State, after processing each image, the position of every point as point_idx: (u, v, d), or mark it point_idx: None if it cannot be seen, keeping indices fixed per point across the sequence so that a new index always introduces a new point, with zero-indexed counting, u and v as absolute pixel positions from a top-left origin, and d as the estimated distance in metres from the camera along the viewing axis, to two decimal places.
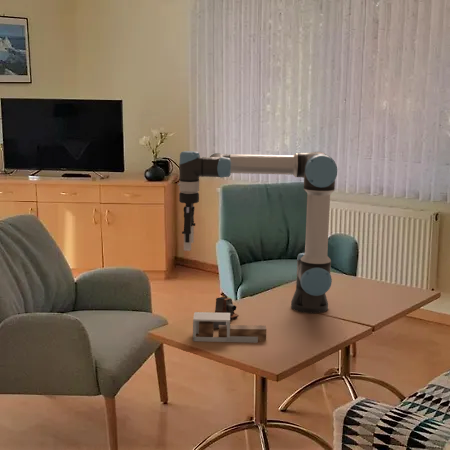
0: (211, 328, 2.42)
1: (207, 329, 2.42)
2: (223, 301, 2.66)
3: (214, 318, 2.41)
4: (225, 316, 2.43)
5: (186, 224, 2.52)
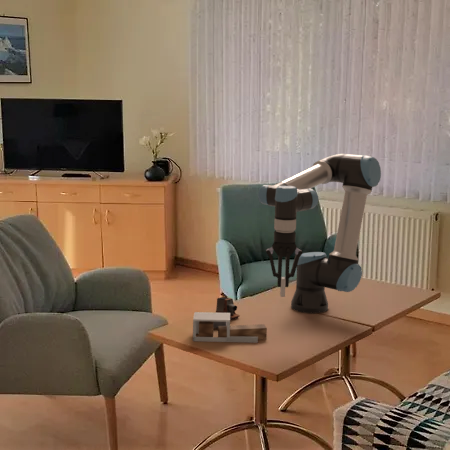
0: (211, 328, 2.42)
1: (207, 329, 2.42)
2: (224, 301, 2.66)
3: (214, 318, 2.41)
4: (225, 316, 2.43)
5: None
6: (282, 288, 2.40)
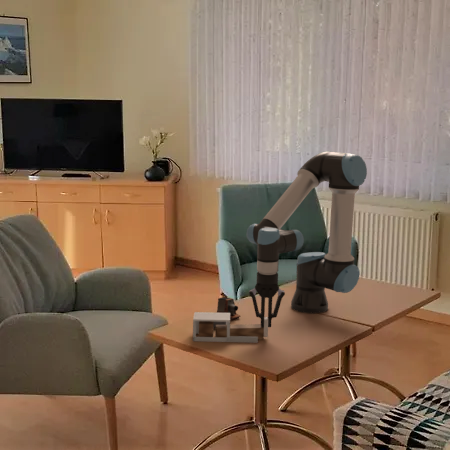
0: (211, 328, 2.42)
1: (207, 329, 2.42)
2: (225, 301, 2.66)
3: (214, 318, 2.41)
4: (225, 316, 2.43)
5: None
6: (265, 328, 2.42)
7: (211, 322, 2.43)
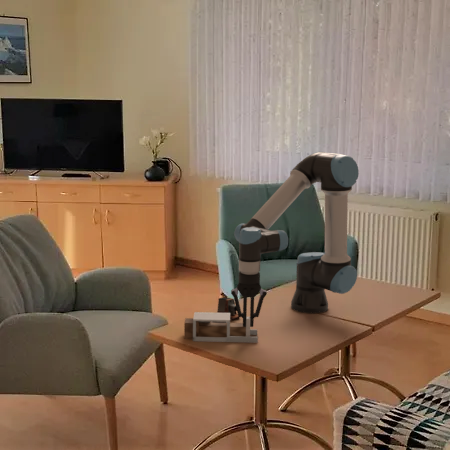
0: (197, 327, 2.42)
1: None
2: (225, 301, 2.66)
3: (214, 318, 2.41)
4: (225, 316, 2.43)
5: None
6: (247, 328, 2.43)
7: (196, 321, 2.44)
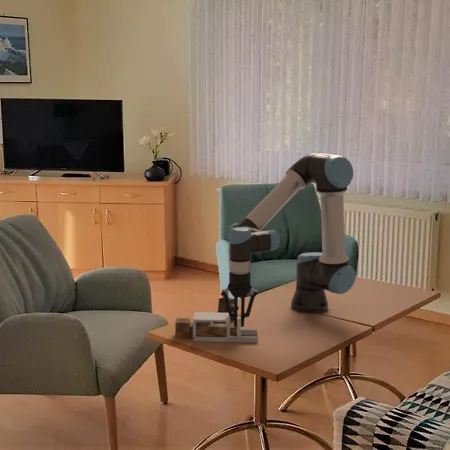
0: (187, 327, 2.43)
1: (184, 328, 2.43)
2: None
3: (214, 318, 2.41)
4: (225, 316, 2.43)
5: None
6: (238, 328, 2.43)
7: (188, 321, 2.44)
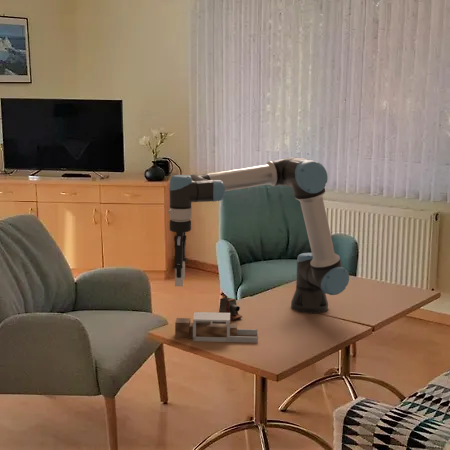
0: (187, 327, 2.43)
1: (184, 328, 2.43)
2: (227, 301, 2.65)
3: (214, 318, 2.41)
4: (225, 316, 2.43)
5: (177, 258, 2.32)
6: (182, 277, 2.36)
7: (188, 321, 2.44)
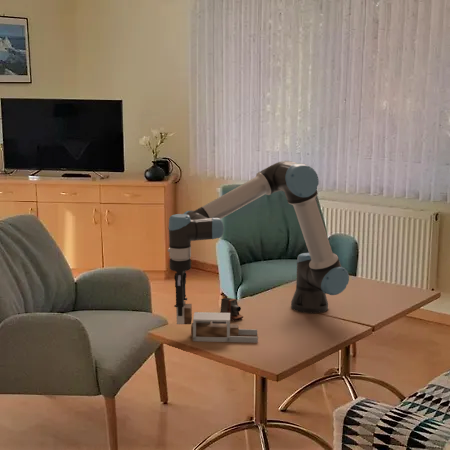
0: (189, 312, 2.41)
1: (185, 314, 2.41)
2: (228, 302, 2.65)
3: (214, 318, 2.41)
4: (225, 316, 2.43)
5: (178, 298, 2.36)
6: None
7: (189, 306, 2.42)
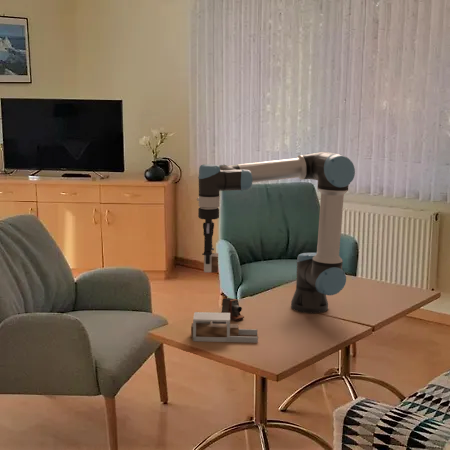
0: (216, 260, 2.46)
1: (212, 262, 2.46)
2: (229, 302, 2.65)
3: (214, 318, 2.41)
4: (225, 316, 2.43)
5: (206, 246, 2.41)
6: (211, 263, 2.46)
7: (216, 255, 2.48)
